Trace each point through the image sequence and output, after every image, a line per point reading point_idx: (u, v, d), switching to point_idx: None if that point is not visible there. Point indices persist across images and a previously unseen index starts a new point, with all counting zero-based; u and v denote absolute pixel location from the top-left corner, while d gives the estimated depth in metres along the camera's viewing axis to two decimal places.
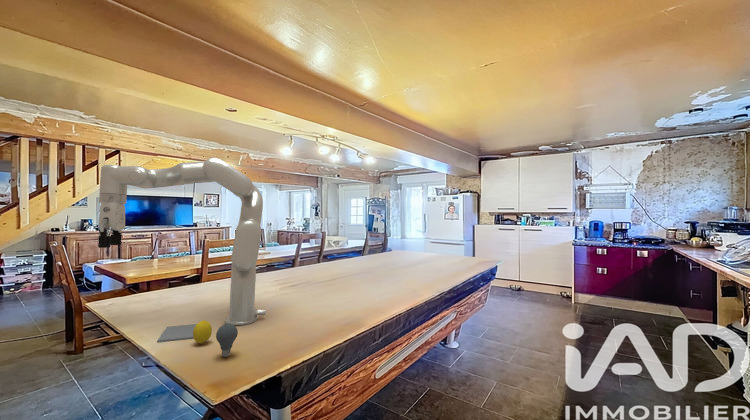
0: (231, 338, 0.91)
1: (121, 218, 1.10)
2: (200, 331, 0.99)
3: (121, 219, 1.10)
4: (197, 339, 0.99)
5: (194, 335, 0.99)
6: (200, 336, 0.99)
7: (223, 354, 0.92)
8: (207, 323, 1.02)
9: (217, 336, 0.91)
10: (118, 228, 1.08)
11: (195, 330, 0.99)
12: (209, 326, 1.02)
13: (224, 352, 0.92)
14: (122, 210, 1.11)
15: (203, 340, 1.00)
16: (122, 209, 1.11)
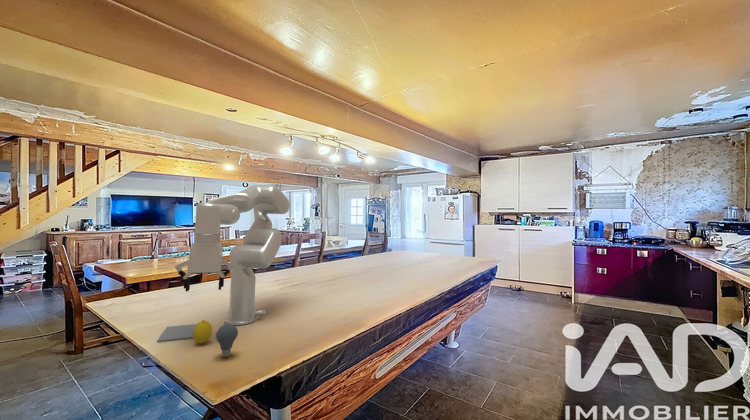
0: (231, 338, 0.91)
1: None
2: (200, 331, 0.99)
3: None
4: (197, 339, 0.99)
5: (194, 335, 0.99)
6: (201, 336, 0.99)
7: (223, 354, 0.92)
8: (207, 323, 1.02)
9: (217, 336, 0.91)
10: None
11: (195, 330, 0.99)
12: (209, 326, 1.02)
13: (224, 352, 0.92)
14: None
15: (203, 340, 1.00)
16: None
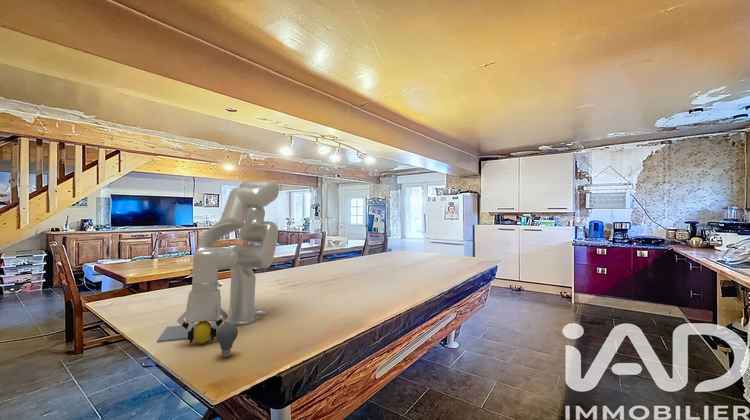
0: (231, 338, 0.91)
1: None
2: (200, 331, 0.99)
3: None
4: (197, 339, 0.99)
5: (194, 335, 0.99)
6: (201, 336, 0.99)
7: (223, 354, 0.92)
8: (207, 323, 1.02)
9: (217, 336, 0.91)
10: None
11: (195, 330, 0.99)
12: (209, 326, 1.02)
13: (224, 352, 0.92)
14: None
15: (203, 340, 1.00)
16: None
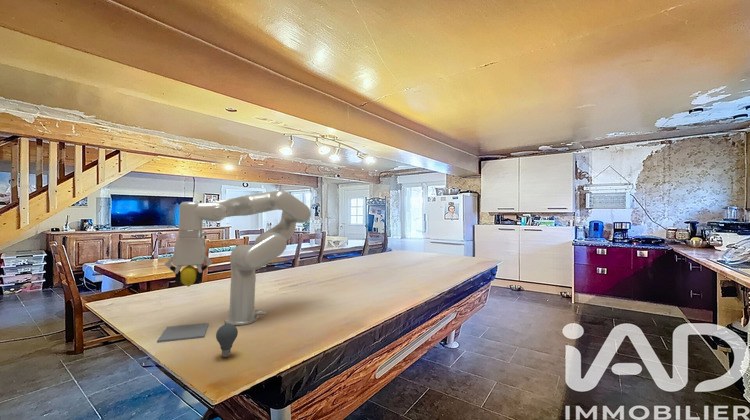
0: (231, 338, 0.91)
1: None
2: (186, 274, 1.09)
3: None
4: (183, 281, 1.09)
5: (181, 277, 1.09)
6: (187, 278, 1.09)
7: (223, 354, 0.92)
8: (193, 268, 1.11)
9: (217, 336, 0.91)
10: None
11: (182, 273, 1.09)
12: (195, 270, 1.11)
13: (224, 352, 0.92)
14: None
15: (189, 282, 1.10)
16: None
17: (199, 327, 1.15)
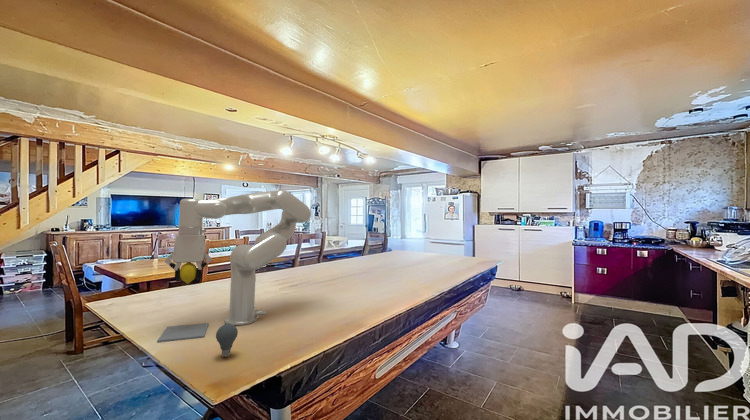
0: (231, 338, 0.91)
1: None
2: (186, 270, 1.09)
3: None
4: (183, 277, 1.09)
5: (180, 274, 1.09)
6: (186, 275, 1.09)
7: (223, 354, 0.92)
8: (192, 264, 1.11)
9: (217, 336, 0.91)
10: None
11: (181, 270, 1.09)
12: (194, 267, 1.11)
13: (224, 352, 0.92)
14: None
15: (189, 279, 1.10)
16: None
17: (199, 327, 1.15)
